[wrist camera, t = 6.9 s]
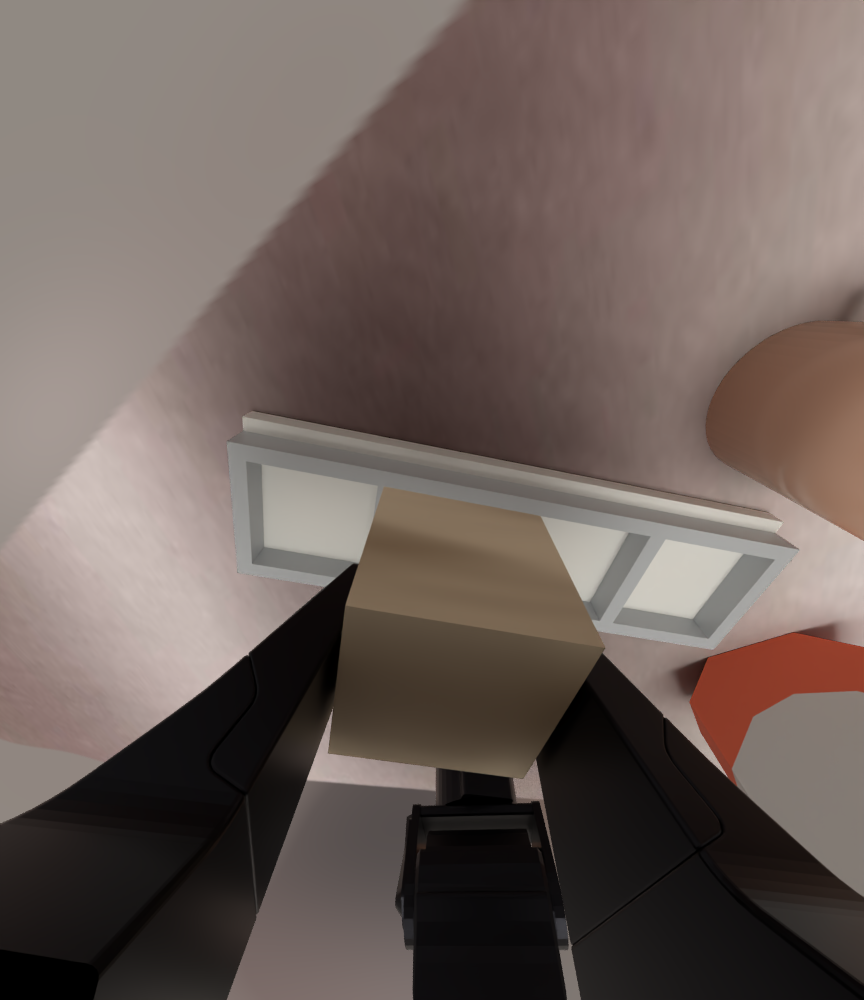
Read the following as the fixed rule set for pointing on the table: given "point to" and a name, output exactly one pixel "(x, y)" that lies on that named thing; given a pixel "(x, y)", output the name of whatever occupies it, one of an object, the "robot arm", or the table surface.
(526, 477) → the board
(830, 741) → the french fries container
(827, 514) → the terracotta mug
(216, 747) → the robot arm
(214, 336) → the table surface
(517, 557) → the beech block
